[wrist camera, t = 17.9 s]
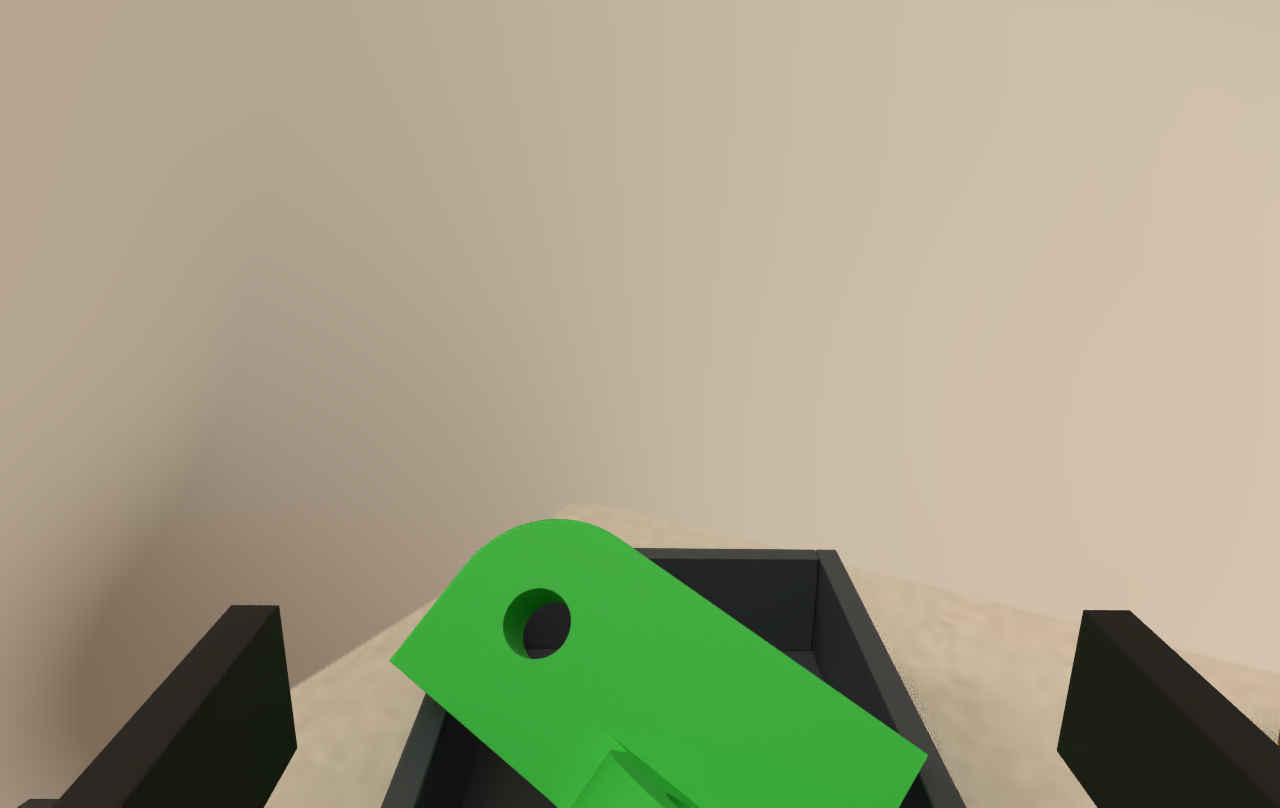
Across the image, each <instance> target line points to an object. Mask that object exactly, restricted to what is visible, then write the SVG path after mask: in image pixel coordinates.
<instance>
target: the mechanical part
mask: <svg viewBox="0 0 1280 808" xmlns="http://www.w3.org/2000/svg"><path fill="white" fill-rule="evenodd" d="M550 603H563V604H567V606H568V608H569V611H570V615H571V627H570V632H569V635H568V637H567V639H566V641H565V642H564V644H563V645H562V646H561V648H560V649H559V650H557V651H556V652H555V653H553V654H552V655H550V656H548V657H545V658H542V659H531V658H530V657H529V656H528V654H527V652H526V650H525V647H524V643H523V633H524V628H525V625H526V623H527V621H528V619H529V618H530V616H531V615H532V614H533V613H534V612H535V611H536V610H537V609H538V608H540V607H542V606H544V605H546V604H550ZM390 662H392V663H393V664H394V665H395V666H396V667H397V668H398V669H400V670H401V671H402V672H403V673H404V674H405V675H407V676H408V677H409V678H410V679H411V680H412V681H413V682H415V683H416V684H417V685H418V686H419V687H420V688H421V689H423V690H424V691H425V692H426V693H427V694H428V695H430V696H431V697H432V698H433V699H434V700H435V701H436V702H438V703H439V704H440V705H441V706H442V707H443V708H444V709H446V710H447V711H448V712H449V713H450V714H451V715H453V716H454V717H455V718H456V719H457V720H458V721H459V722H461V723H462V724H463V725H464V726H465V727H466V728H467V729H469V730H470V731H471V732H472V733H473V734H474V735H476V736H477V737H478V738H479V739H480V740H481V741H482V742H484V743H485V744H486V745H487V746H488V747H489V748H490V749H492V750H493V751H494V752H495V753H496V754H497V755H499V756H500V757H501V758H502V759H503V760H504V761H505V762H507V763H508V764H509V765H510V766H511V767H512V768H513V769H515V770H516V771H517V772H518V773H519V774H520V775H522V776H523V777H524V778H525V779H526V780H527V781H528V782H530V783H531V784H532V785H533V786H534V787H535V788H536V789H538V790H539V791H540V792H541V793H542V794H543V795H545V796H546V797H547V798H548V799H549V800H550V801H551V802H552V803H553V804H554V805H555V806H556V807H557V808H899V806H900V804H901V803H902V801H903V799H904V797H905V796H906V794H907V792H908V790H909V789H910V787H911V785H912V783H913V782H914V780H915V778H916V776H917V774H918V773H919V771H920V769H921V767H922V766H923V764H924V762H925V760H926V759H927V757H928V754H926V753H925V752H923V751H922V750H921V749H919V748H918V747H916V746H915V745H913V744H912V743H911V742H909V741H908V740H906V739H905V738H903V737H902V736H901V735H899V734H898V733H896V732H895V731H893V730H892V729H891V728H889V727H888V726H886V725H885V724H883V723H882V722H881V721H879V720H878V719H876V718H875V717H873V716H872V715H871V714H869V713H868V712H866V711H865V710H863V709H862V708H861V707H859V706H858V705H856V704H855V703H853V702H852V701H851V700H849V699H848V698H846V697H845V696H843V695H842V694H841V693H839V692H838V691H836V690H835V689H833V688H832V687H831V686H829V685H828V684H826V683H825V682H823V681H822V680H821V679H819V678H818V677H816V676H815V675H813V674H812V673H811V672H809V671H808V670H806V669H805V668H803V667H802V666H801V665H799V664H798V663H796V662H795V661H793V660H792V659H791V658H789V657H788V656H786V655H785V654H783V653H782V652H781V651H779V650H778V649H776V648H775V647H773V646H772V645H771V644H769V643H768V642H766V641H765V640H763V639H762V638H761V637H759V636H758V635H756V634H755V633H753V632H752V631H751V630H749V629H748V628H746V627H745V626H743V625H742V624H741V623H739V622H738V621H736V620H735V619H733V618H732V617H731V616H729V615H728V614H726V613H725V612H723V611H722V610H721V609H719V608H718V607H716V606H715V605H713V604H712V603H711V602H709V601H708V600H706V599H705V598H703V597H702V596H701V595H699V594H698V593H696V592H695V591H693V590H692V589H691V588H689V587H688V586H686V585H685V584H683V583H682V582H681V581H679V580H678V579H676V578H675V577H673V576H672V575H671V574H669V573H668V572H666V571H665V570H663V569H662V568H661V567H659V566H658V565H656V564H655V563H653V562H652V561H651V560H649V559H648V558H646V557H645V556H643V555H642V554H641V553H639V552H638V551H636V550H635V549H633V548H632V547H631V546H629V545H628V544H626V543H625V542H623V541H622V540H621V539H619V538H618V537H616V536H614V535H613V534H611V533H610V532H608V531H606V530H604V529H602V528H600V527H597V526H594V525H591V524H589V523H585V522H581V521H576V520H568V519H549V520H540V521H535V522H530V523H527V524H524V525H520V526H518V527H516V528H514V529H510V530H508V531H507V532H505V533H503V534H501V535H499V536H498V537H496V538H495V539H493V540H491V541H490V542H489V543H488V544H486V545H485V546H484V547H482V548H481V549H480V550H479V551H478V552H477V553H476V554H475V555H474V556H473V557H472V558H471V559H470V560H469V561H468V562H467V563H466V565H465V566H464V567H463V568H462V570H461V571H460V572H459V573H458V575H457V576H456V577H455V578H454V580H453V581H452V582H451V583H450V585H449V586H448V587H447V588H446V590H445V591H444V592H443V594H442V595H441V596H440V597H439V599H438V600H437V601H436V602H435V604H434V605H433V606H432V608H431V609H430V610H429V611H428V613H427V614H426V615H425V616H424V618H423V619H422V620H421V621H420V623H419V624H418V625H417V627H416V628H415V629H414V630H413V632H412V633H411V634H410V635H409V637H408V638H407V639H406V641H405V642H404V643H403V644H402V646H401V647H400V648H399V649H398V651H397V652H396V653H395V654H394V656H393V657H392V658H391V660H390Z"/></svg>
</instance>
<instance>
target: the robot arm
mask: <svg viewBox="0 0 1280 808" xmlns="http://www.w3.org/2000/svg"><path fill="white" fill-rule="evenodd" d="M296 749H297V742H296V734H295V726H294V719H293V711H292V703H291V695H290V687H289V681H288V672H287V664H286V657H285V648H284V641H283V633H282V626H281V618H280V610H279V606H274V605H270V606H267V605H266V606H265V605H264V606H261V605H259V606H258V605H231V606H230V607H229V609H228V610H227V611H226V612H225V613H224V614H223V615H222V616H221V618H220V619H219V620H218V621H217V622H216V623H215V624H214V626H213V627H212V628H211V629H210V630H209V631H208V632H207V633H206V635H205V636H204V637H203V638H202V639H201V640H200V641H199V642H198V643H197V644H196V646H195V647H194V648H193V649H192V650H191V651H190V653H189V654H188V655H187V656H186V657H185V658H184V659H183V660H182V661H181V663H180V664H179V665H178V666H177V667H176V668H175V670H173V672H172V673H171V674H170V675H169V676H168V677H167V678H166V679H165V681H164V682H163V683H162V684H161V685H160V686H159V687H158V688H157V690H156V691H155V692H154V693H153V694H152V695H151V696H150V697H149V698H148V700H147V701H146V702H145V703H144V704H143V705H142V706H141V707H140V709H139V710H138V711H137V712H136V713H135V714H134V715H133V716H132V718H131V719H130V720H129V721H128V722H127V723H126V724H125V725H124V727H123V728H122V729H121V730H120V731H119V732H118V733H117V735H116V736H115V737H114V738H113V739H112V740H111V741H110V742H109V744H108V745H107V746H106V747H105V748H104V749H103V750H102V751H101V752H100V754H99V755H98V756H97V757H96V758H95V759H94V760H93V762H92V763H91V764H90V765H89V766H88V767H87V768H86V769H85V771H84V772H83V773H82V774H81V775H80V776H79V777H78V778H77V780H76V781H75V782H74V783H73V784H72V785H71V786H70V787H69V789H68V790H67V791H66V792H65V793H64V794H63V795H62V796H61V798H60V799H30V800H28V801H26V802H25V803H23V804H22V805H21V806H19V807H18V808H264V806H265V804H266V803H267V801H268V799H269V797H270V796H271V794H272V792H273V790H274V788H275V787H276V785H277V783H278V781H279V780H280V778H281V776H282V774H283V772H284V771H285V769H286V767H287V765H288V764H289V762H290V760H291V758H292V756H293V755H294V753H295V751H296ZM1057 752H1058V753H1059V754H1060V756H1061V757H1062V759H1063V760H1064V761H1065V763H1066V764H1067V766H1068V767H1069V768H1070V770H1071V771H1072V773H1073V774H1074V775H1075V777H1076V778H1077V780H1078V781H1079V782H1080V784H1081V785H1082V787H1083V788H1084V789H1085V791H1086V792H1087V794H1088V795H1089V796H1090V798H1091V799H1092V801H1093V802H1094V803H1095V805H1096V806H1097V808H1280V747H1279V746H1278V745H1277V744H1276V743H1275V742H1273V741H1272V740H1271V739H1270V738H1269V737H1268V736H1267V735H1266V734H1265V733H1264V732H1262V731H1261V730H1260V729H1259V728H1258V727H1257V726H1256V725H1255V724H1254V723H1253V722H1252V721H1250V720H1249V719H1248V718H1247V717H1246V716H1245V715H1244V714H1243V713H1242V712H1241V711H1239V710H1238V709H1237V708H1236V707H1235V706H1234V705H1233V704H1232V703H1231V702H1230V701H1229V700H1227V699H1226V698H1225V697H1224V696H1223V695H1222V694H1221V693H1220V692H1219V691H1218V690H1216V689H1215V688H1214V687H1213V686H1212V685H1211V684H1210V683H1209V682H1208V681H1207V680H1205V679H1204V678H1203V677H1202V676H1201V675H1200V674H1199V673H1198V672H1197V671H1196V670H1195V669H1193V668H1192V667H1191V666H1190V665H1189V664H1188V663H1187V662H1186V661H1185V660H1184V659H1182V658H1181V657H1180V656H1179V655H1178V654H1177V653H1176V652H1175V651H1174V650H1173V649H1171V648H1170V647H1169V646H1168V645H1167V644H1166V643H1165V642H1164V641H1163V640H1162V639H1161V638H1159V637H1158V636H1157V635H1156V634H1155V633H1154V632H1153V631H1152V630H1151V629H1150V628H1148V627H1147V626H1146V625H1145V624H1144V623H1143V622H1142V621H1141V620H1140V619H1138V618H1137V617H1136V616H1135V615H1134V614H1133V613H1132V612H1131V611H1129V610H1119V611H1118V610H1083V616H1082V620H1081V626H1080V631H1079V636H1078V642H1077V647H1076V652H1075V657H1074V663H1073V668H1072V673H1071V678H1070V684H1069V689H1068V694H1067V699H1066V705H1065V710H1064V715H1063V721H1062V726H1061V731H1060V736H1059V742H1058V747H1057Z"/></svg>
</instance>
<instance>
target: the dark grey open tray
mask: <svg viewBox="0 0 1280 808" xmlns="http://www.w3.org/2000/svg"><path fill="white" fill-rule="evenodd" d="M633 549H635V550H636V551H638V552H639V553H641V554H642V555H643V556H645V557H646V558H648V559H649V560H651V561H652V562H653V563H655V564H656V565H658V566H659V567H661V568H662V569H663V570H665V571H666V572H668V573H669V574H671V575H672V576H673V577H675V578H676V579H678V580H679V581H681V582H682V583H683V584H685V585H686V586H688V587H689V588H691V589H692V590H693V591H695V592H696V593H698V594H699V595H701V596H702V597H703V598H705V599H706V600H708V601H709V602H711V603H712V604H713V605H715V606H716V607H718V608H719V609H721V610H722V611H723V612H725V613H726V614H728V615H729V616H731V617H732V618H733V619H735V620H736V621H738V622H739V623H741V624H742V625H743V626H745V627H746V628H748V629H749V630H751V631H752V632H753V633H755V634H756V635H758V636H759V637H761V638H762V639H763V640H765V641H766V642H768V643H769V644H771V645H772V646H773V647H775V648H776V649H778V650H779V651H781V652H782V653H783V654H785V655H786V656H788V657H789V658H791V659H792V660H793V661H795V662H796V663H798V664H799V665H801V666H802V667H803V668H805V669H806V670H808V671H809V672H811V673H812V674H813V675H815V676H816V677H818V678H819V679H821V680H822V681H823V682H825V683H826V684H828V685H829V686H831V687H832V688H833V689H835V690H836V691H838V692H839V693H841V694H842V695H843V696H845V697H846V698H848V699H849V700H851V701H852V702H853V703H855V704H856V705H858V706H859V707H861V708H862V709H863V710H865V711H866V712H868V713H869V714H871V715H872V716H873V717H875V718H876V719H878V720H879V721H881V722H882V723H883V724H885V725H886V726H888V727H889V728H891V729H892V730H893V731H895V732H896V733H898V734H899V735H901V736H902V737H903V738H905V739H906V740H908V741H909V742H911V743H912V744H913V745H915V746H916V747H918V748H919V749H921V750H922V751H923V752H925V753H926V754H928V757H927V759H926V760H925V762H924V764H923V766H922V767H921V769H920V771H919V773H918V774H917V776H916V778H915V780H914V782H913V783H912V785H911V787H910V789H909V790H908V792H907V794H906V796H905V797H904V799H903V801H902V803H901V804H900V806H899V808H966V806H965V804H964V802H963V800H962V798H961V796H960V794H959V792H958V790H957V788H956V787H955V785H954V783H953V781H952V779H951V777H950V775H949V773H948V771H947V769H946V767H945V765H944V763H943V761H942V759H941V757H940V755H939V753H938V751H937V749H936V747H935V745H934V743H933V741H932V739H931V737H930V735H929V733H928V731H927V729H926V727H925V725H924V723H923V721H922V719H921V717H920V715H919V713H918V711H917V709H916V708H915V706H914V704H913V702H912V700H911V698H910V696H909V694H908V692H907V690H906V688H905V686H904V684H903V682H902V680H901V678H900V676H899V674H898V672H897V670H896V668H895V666H894V664H893V662H892V660H891V658H890V656H889V654H888V652H887V650H886V648H885V646H884V644H883V642H882V640H881V638H880V636H879V634H878V632H877V630H876V629H875V627H874V625H873V623H872V621H871V619H870V617H869V615H868V613H867V611H866V609H865V607H864V605H863V603H862V601H861V599H860V597H859V595H858V593H857V591H856V589H855V587H854V585H853V583H852V581H851V579H850V577H849V575H848V573H847V571H846V569H845V567H844V565H843V563H842V562H841V559H840V557H839V556H838V554H837V552H836V550H816V551H815V550H786V549H678V548H633ZM570 627H571V615H570V611H569V608H568V606H567V604H563V603H550V604H546V605H544V606H542V607H540V608H538V609H537V610H536V611H535V612H534V613H533V614H532V615H531V616H530V618H529V619H528V621H527V623H526V625H525V628H524V633H523V643H524V647H525V650H526V652H527V654H528V656H529V657H530V658H531V659H542V658H545V657H548V656H550V655H552V654H553V653H555V652H556V651H557V650H559V649H560V648H561V646H562V645H563V644H564V642H565V641H566V639H567V637H568V635H569V632H570ZM381 808H557V807H556V806H555V805H554V804H553V803H552V802H551V801H550V800H549V799H548V798H547V797H546V796H545V795H543V794H542V793H541V792H540V791H539V790H538V789H536V788H535V787H534V786H533V785H532V784H531V783H530V782H528V781H527V780H526V779H525V778H524V777H523V776H522V775H520V774H519V773H518V772H517V771H516V770H515V769H513V768H512V767H511V766H510V765H509V764H508V763H507V762H505V761H504V760H503V759H502V758H501V757H500V756H499V755H497V754H496V753H495V752H494V751H493V750H492V749H490V748H489V747H488V746H487V745H486V744H485V743H484V742H482V741H481V740H480V739H479V738H478V737H477V736H476V735H474V734H473V733H472V732H471V731H470V730H469V729H467V728H466V727H465V726H464V725H463V724H462V723H461V722H459V721H458V720H457V719H456V718H455V717H454V716H453V715H451V714H450V713H449V712H448V711H447V710H446V709H444V708H443V707H442V706H441V705H440V704H439V703H438V702H436V701H435V700H434V699H433V698H432V697H431V696H430V695H428V694H427V693H426V694H425V696H424V699H423V702H422V704H421V707H420V709H419V712H418V714H417V717H416V719H415V722H414V725H413V727H412V730H411V732H410V735H409V737H408V740H407V742H406V745H405V747H404V750H403V753H402V755H401V758H400V760H399V763H398V765H397V768H396V770H395V773H394V776H393V778H392V781H391V783H390V786H389V788H388V791H387V793H386V796H385V799H384V801H383V804H382V806H381Z"/></svg>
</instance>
